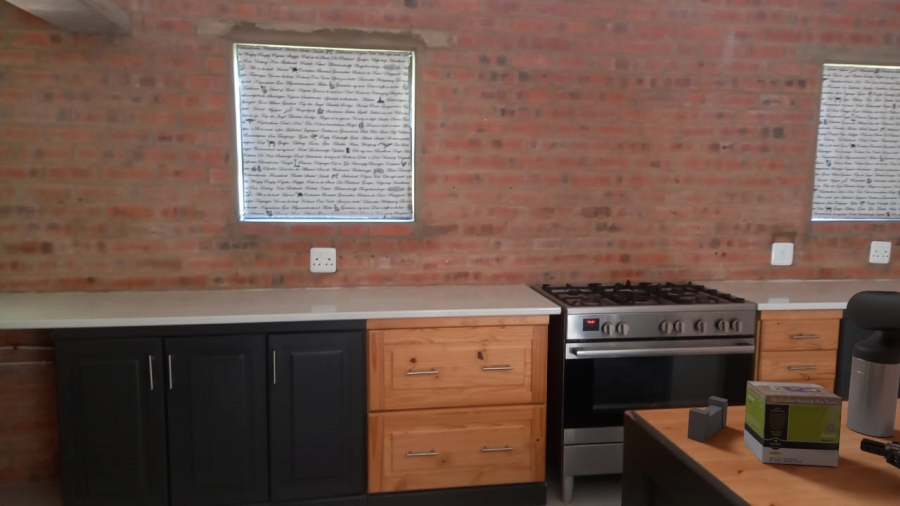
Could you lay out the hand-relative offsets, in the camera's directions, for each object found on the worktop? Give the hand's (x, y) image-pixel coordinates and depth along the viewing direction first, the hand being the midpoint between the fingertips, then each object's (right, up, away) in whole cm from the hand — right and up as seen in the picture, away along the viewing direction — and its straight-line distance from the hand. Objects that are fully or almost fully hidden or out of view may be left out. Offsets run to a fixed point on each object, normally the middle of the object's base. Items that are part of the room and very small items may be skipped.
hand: (861, 443), depth 115 cm
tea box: (-9, -6, +9) cm, 14 cm away
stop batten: (-21, -4, +21) cm, 30 cm away
